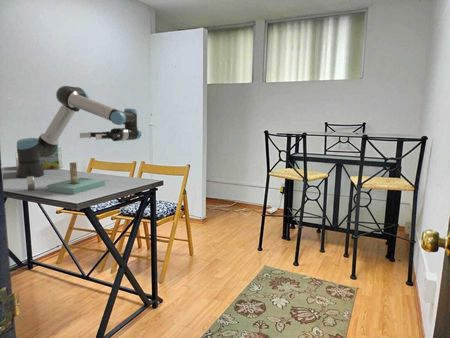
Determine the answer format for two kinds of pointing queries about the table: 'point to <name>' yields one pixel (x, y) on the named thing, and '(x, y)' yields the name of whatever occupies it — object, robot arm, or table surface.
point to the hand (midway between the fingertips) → (87, 136)
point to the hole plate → (76, 185)
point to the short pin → (30, 183)
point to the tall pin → (73, 173)
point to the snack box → (52, 161)
